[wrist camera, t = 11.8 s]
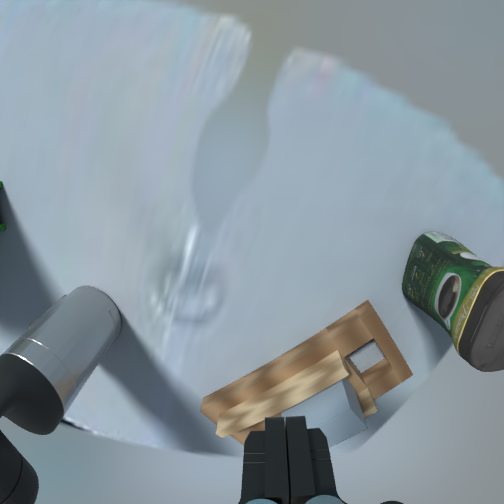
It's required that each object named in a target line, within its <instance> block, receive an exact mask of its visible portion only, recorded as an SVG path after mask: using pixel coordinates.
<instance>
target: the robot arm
mask: <svg viewBox="0 0 504 504" xmlns="http://www.w3.org/2000/svg"><path fill="white" fill-rule="evenodd" d="M120 331H121V317H120V314H119V311H118V309H117V307H116V305H115V304H114V303H113V301H112V300H111V299H110V298H109V297H108V296H107V295H106V294H104V293H103V292H102V291H100V290H98V289H96V288H93V287H89V286H82V287H79V288H77V289H75V290H73V291H72V292H71V293H70V294H69V295H65V296H63V297H62V298H61V299H60V300H58V301H57V302H56V303H55V304H54V305H52V306H51V307H50V308H49V309H48V310H47V311H45V312H44V313H43V314H42V315H41V316H40V317H38V318H37V319H36V320H35V321H34V322H33V323H32V324H30V326H29V329H28V330H27V331H26V332H25V333H24V334H23V335H22V336H21V337H20V338H19V339H18V340H17V341H15V343H13V344H12V345H11V346H10V347H9V348H8V349H7V350H6V351H5V352H4V353H3V354H2V355H1V356H0V418H1V417H2V416H5V417H6V418H8V419H9V420H11V421H12V422H13V423H15V424H17V425H18V426H20V427H21V428H23V429H25V430H27V431H29V432H32V433H35V434H39V435H47V434H50V433H51V432H53V431H54V430H55V428H56V427H57V426H58V424H59V423H60V421H61V419H62V418H63V416H64V415H65V413H66V412H67V410H68V409H69V407H70V406H71V404H72V403H73V401H74V399H75V398H76V396H77V395H78V393H79V392H80V390H81V389H82V387H83V386H84V384H85V383H86V381H87V380H88V378H89V377H90V375H91V374H92V372H93V371H94V370H95V368H96V367H97V365H98V364H99V362H100V361H101V359H102V358H103V357H104V355H105V354H106V352H107V351H108V349H109V348H110V347H111V345H112V344H113V342H114V341H115V339H116V338H117V336H118V335H119V333H120ZM38 488H39V484H38V476H37V474H36V472H35V470H34V469H33V467H32V466H31V465H30V464H29V463H28V461H27V460H26V459H25V458H24V457H23V456H22V455H21V454H20V453H19V451H18V450H17V449H16V448H15V447H14V446H13V445H12V443H11V442H10V441H9V440H8V439H7V438H6V436H5V435H4V434H3V433H2V432H1V430H0V504H34V503H35V501H36V498H37V494H38ZM238 504H347V503H345V502H344V501H342V500H341V499H340V497H339V496H338V494H337V491H336V485H335V479H334V474H333V468H332V463H331V459H330V452H329V447H328V441H327V437H326V436H325V434H324V433H323V432H322V431H321V429H320V428H310V429H307V425H306V418H305V416H290V417H285V421H284V417H265V431H250V433H249V435H248V436H247V438H246V440H245V442H244V458H243V474H242V490H241V499H240V502H239V503H238ZM381 504H403V503H401V502H397V501H387V502H383V503H381Z"/></svg>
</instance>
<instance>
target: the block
mask: <svg viewBox="0 0 504 504" xmlns="http://www.w3.org/2000/svg"><path fill="white" fill-rule="evenodd" d="M281 414H282V417H284V421H285V417H290V416H305V418H306V425H307V429H310V428H320V429H321V431H322V432H323V433H324V434H325V436H326V437H327V441H328V447H332V446H334V445H336V444H338V443H340V442H342V441H344V440H346V439H348V438H350V437H352V436H354V435H356V434H358V433H360V432H362V431H364V430H366V429H368V427H367V424H366V421H365V418H364V415H363V412H362V409H361V406H360V403H359V400H358V398H357V395H356V392H355V389H354V387H353V386H352V384H351V383H350V382H349V381H348V379H347V378H346V377H345V378H343V379H341V380H340V381H338V382H336V383H334V384H333V385H331V386H329V387H327V388H326V389H324V390H322V391H320V392H318V393H316V394H315V395H313V396H311V397H309V398H307V399H305V400H303V401H301V402H300V403H298V404H296V405H294V406H292V407H290V408H288V409H286V410H284V411H282V412H281Z"/></svg>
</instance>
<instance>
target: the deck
mask: <svg viewBox="0 0 504 504" xmlns="http://www.w3.org/2000/svg"><path fill="white" fill-rule="evenodd" d="M373 338H374V340H375V341H376V343H377V344H378V346H379V347H380V349H381V351H382V352H383V354H384V355H385V357H386V358H385V359H383V360H382V361H380V362H379V363H377V364H376V365H374V366H373V367H371V368H369V369H368V370H366V371H365V372H363V373H360V371H359V370H358V369H357V367H356V366H355V365H354V364H353V362H352V361H351V360H350V358H349V357H348V356H347V355H348V354H350V353H351V352H353V351H355V350H356V349H358V348H359V347H361V346H362V345H364V344H365V343H367V342H368V341H370V340H372V339H373ZM412 375H413V374H412V372H411V370H410V368H409V367H408V365H407V363H406V361H405V360H404V358H403V356H402V354H401V353H400V351H399V349H398V348H397V346H396V344H395V343H394V341H393V339H392V338H391V336H390V334H389V333H388V331H387V329H386V328H385V326H384V324H383V323H382V321H381V320H380V318H379V316H378V315H377V313H376V312H375V310H374V308H373V307H372V305H371V304H370V302H369V301H368V300H367V301H365V302H364V303H362V304H361V305H360V306H358V307H357V308H355V309H354V310H352V311H351V312H349V313H348V314H346V315H345V316H343V317H342V318H340V319H339V320H337V321H336V322H334V323H333V324H331V325H330V326H328V327H327V328H325V329H323V330H322V331H320V332H319V333H317V334H316V335H314V336H312V337H311V338H309V339H308V340H306V341H304V342H303V343H301V344H299V345H298V346H296V347H295V348H293V349H291V350H290V351H288V352H286V353H285V354H283V355H281V356H279V357H278V358H276V359H274V360H273V361H271V362H269V363H267V364H266V365H264V366H262V367H260V368H259V369H257V370H255V371H253V372H251V373H250V374H248V375H246V376H244V377H242V378H240V379H239V380H237V381H235V382H233V383H231V384H229V385H227V386H225V387H224V388H222V389H220V390H218V391H216V392H214V393H212V394H210V395H208V396H206V397H204V398H203V401H202V405H201V410H200V412H202V413H203V414H204V415H205V416H206V417H208V418H209V419H210V420H211V421H213V422H214V423H215V424H216V425H217V430H216V434H217V435H218V436H220V437H221V438H223V437H226V436H228V435H230V436H232V437H233V438H234V439H236V440H237V441H238V442H240V443H241V444H243V445H244V442H245V440H246V438H247V436H248V435H249V433H250V431H265V417H282V414H281V412H282V411H284V410H286V409H288V408H290V407H292V406H294V405H296V404H298V403H300V402H301V401H303V400H305V399H307V398H309V397H311V396H313V395H315V394H316V393H318V392H320V391H322V390H324V389H326V388H327V387H329V386H331V385H333V384H334V383H336V382H338V381H340V380H341V379H343V378H345V377H346V378H347V379H348V381H349V382H350V383H351V384H352V386H353V387H354V389H355V392H356V395H357V398H358V400H359V403H360V406H361V409H362V412H363V415H364V418H367V417H368V416H370V415H372V414H374V413H375V412H377V411H378V409H377V407H376V404H375V402H374V399H376V398H378V397H379V396H381V395H383V394H384V393H386V392H388V391H389V390H391V389H392V388H394V387H395V386H397V385H399V384H400V383H402V382H403V381H405V380H406V379H408V378H409V377H411V376H412Z"/></svg>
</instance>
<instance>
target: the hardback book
mask: <svg viewBox="0 0 504 504" xmlns="http://www.w3.org/2000/svg"><path fill="white" fill-rule="evenodd" d="M0 188H2V181H0ZM5 229H6V225H5V223H0V231H3V230H5Z"/></svg>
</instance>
